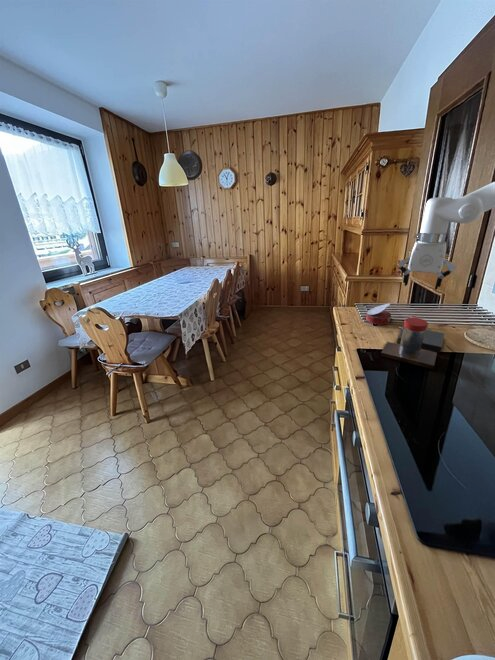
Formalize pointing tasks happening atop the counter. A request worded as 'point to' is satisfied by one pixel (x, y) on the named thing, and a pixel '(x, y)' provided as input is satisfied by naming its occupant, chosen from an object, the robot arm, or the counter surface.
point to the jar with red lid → (412, 337)
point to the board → (422, 360)
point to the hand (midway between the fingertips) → (420, 286)
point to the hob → (429, 340)
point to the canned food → (378, 315)
